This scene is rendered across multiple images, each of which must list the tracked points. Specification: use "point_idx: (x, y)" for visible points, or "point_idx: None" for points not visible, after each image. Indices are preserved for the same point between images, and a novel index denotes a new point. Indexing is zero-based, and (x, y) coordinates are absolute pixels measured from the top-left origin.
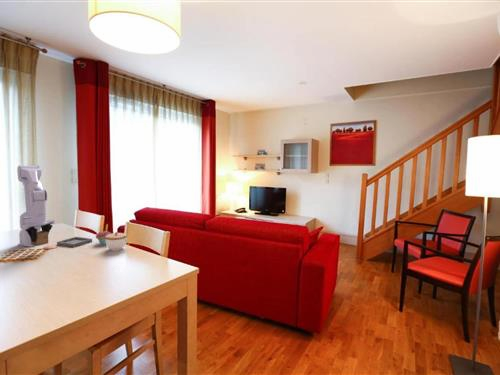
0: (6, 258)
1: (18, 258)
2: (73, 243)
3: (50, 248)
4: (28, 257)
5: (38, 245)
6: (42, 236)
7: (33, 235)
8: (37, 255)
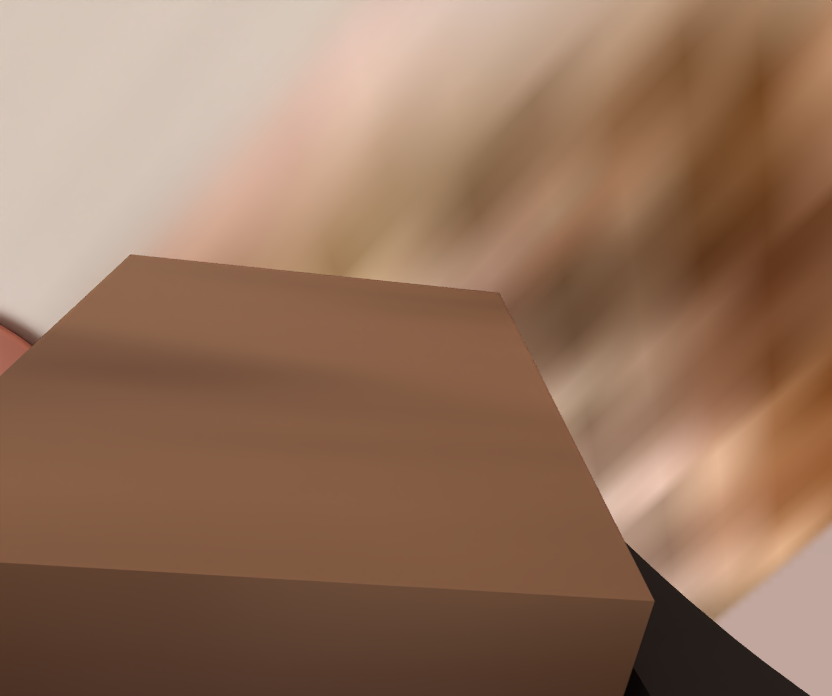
0: (738, 577)
1: (724, 402)
2: None
3: (2, 351)
4: (647, 277)
5: (493, 300)
6: (333, 439)
7: (769, 677)
8: (491, 212)
